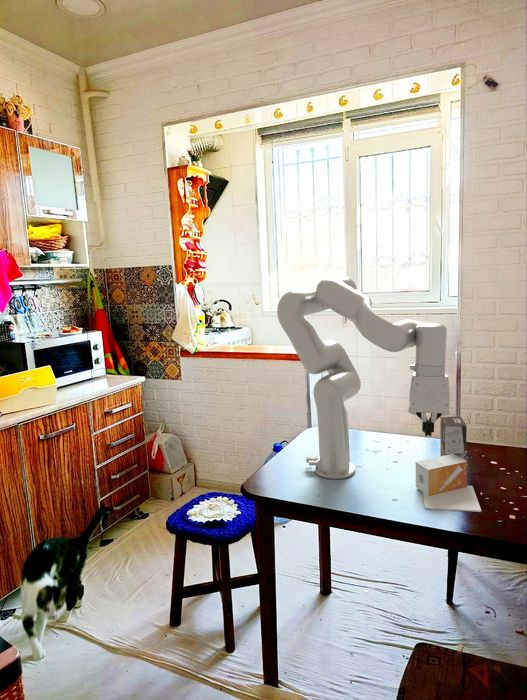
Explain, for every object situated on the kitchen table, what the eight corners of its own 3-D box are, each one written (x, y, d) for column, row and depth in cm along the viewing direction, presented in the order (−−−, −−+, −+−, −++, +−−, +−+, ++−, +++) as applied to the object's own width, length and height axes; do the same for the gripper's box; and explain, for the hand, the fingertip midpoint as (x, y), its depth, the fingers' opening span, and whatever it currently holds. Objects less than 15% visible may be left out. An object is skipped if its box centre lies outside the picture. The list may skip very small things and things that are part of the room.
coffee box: (466, 477, 150) (467, 426, 146) (444, 476, 151) (444, 425, 148) (461, 464, 158) (461, 415, 155) (439, 463, 160) (439, 415, 157)
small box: (428, 470, 137) (467, 461, 141) (414, 461, 143) (453, 452, 147) (428, 497, 139) (467, 487, 142) (415, 487, 145) (452, 478, 148)
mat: (425, 508, 133) (425, 507, 133) (421, 484, 147) (421, 483, 146) (481, 512, 130) (481, 510, 130) (472, 487, 143) (472, 485, 143)
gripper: (401, 372, 131) (400, 438, 135) (462, 374, 127) (458, 441, 131) (400, 365, 138) (399, 428, 142) (458, 366, 134) (455, 430, 138)
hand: (427, 434), depth 136 cm, fingers closed
